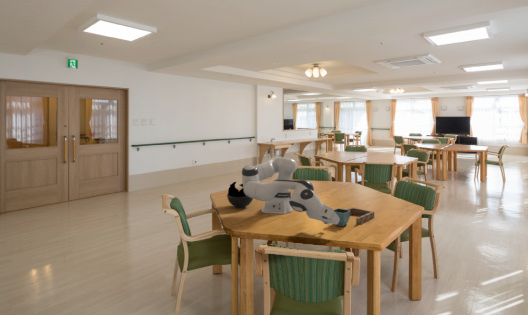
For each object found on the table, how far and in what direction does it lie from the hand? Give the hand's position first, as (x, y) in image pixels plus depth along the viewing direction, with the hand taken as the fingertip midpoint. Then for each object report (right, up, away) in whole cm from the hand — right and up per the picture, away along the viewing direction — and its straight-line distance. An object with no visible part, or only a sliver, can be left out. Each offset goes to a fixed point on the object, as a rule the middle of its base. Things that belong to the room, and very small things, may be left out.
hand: (327, 223), depth 192 cm
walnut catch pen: (+22, -2, +23) cm, 32 cm away
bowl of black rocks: (-55, +1, +54) cm, 77 cm away
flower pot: (+11, -3, +11) cm, 16 cm away
